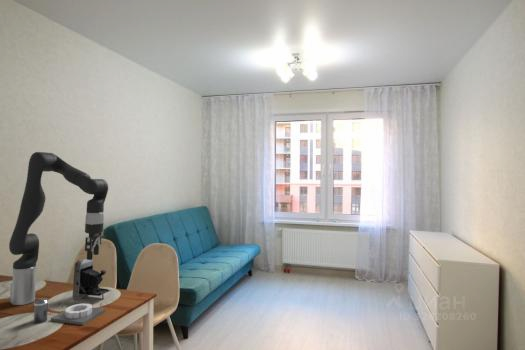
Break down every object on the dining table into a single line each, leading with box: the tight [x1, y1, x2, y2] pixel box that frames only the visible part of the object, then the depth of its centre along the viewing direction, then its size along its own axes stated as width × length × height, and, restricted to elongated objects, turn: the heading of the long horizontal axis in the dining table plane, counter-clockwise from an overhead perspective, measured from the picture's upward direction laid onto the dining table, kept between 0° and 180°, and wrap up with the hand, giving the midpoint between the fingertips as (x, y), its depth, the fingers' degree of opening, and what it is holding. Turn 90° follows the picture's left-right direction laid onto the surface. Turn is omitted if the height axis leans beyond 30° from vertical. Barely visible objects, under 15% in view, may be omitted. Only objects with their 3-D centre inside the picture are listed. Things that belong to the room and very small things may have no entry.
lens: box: [33, 297, 49, 324], centre depth 140 cm, size 5×5×9 cm
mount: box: [50, 303, 106, 326], centre depth 146 cm, size 16×14×4 cm
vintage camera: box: [72, 258, 111, 300], centre depth 167 cm, size 10×16×20 cm, turn 79°
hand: (92, 257), depth 150 cm, fingers open, 8 cm apart
